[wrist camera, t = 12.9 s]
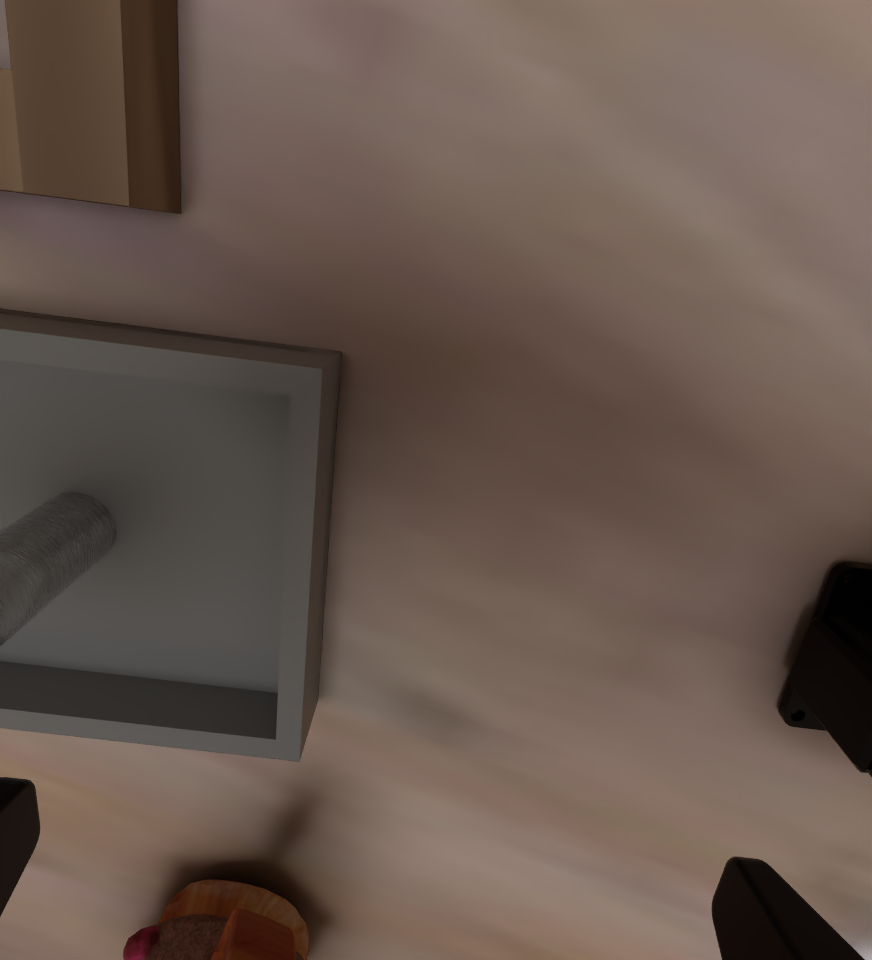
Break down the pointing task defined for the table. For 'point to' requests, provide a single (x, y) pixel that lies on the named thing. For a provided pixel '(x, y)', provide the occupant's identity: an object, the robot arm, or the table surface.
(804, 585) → the table surface
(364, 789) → the table surface
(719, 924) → the robot arm
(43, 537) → the pin
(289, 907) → the mug
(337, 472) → the table surface
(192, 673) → the tray
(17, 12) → the hitch block
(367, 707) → the table surface
